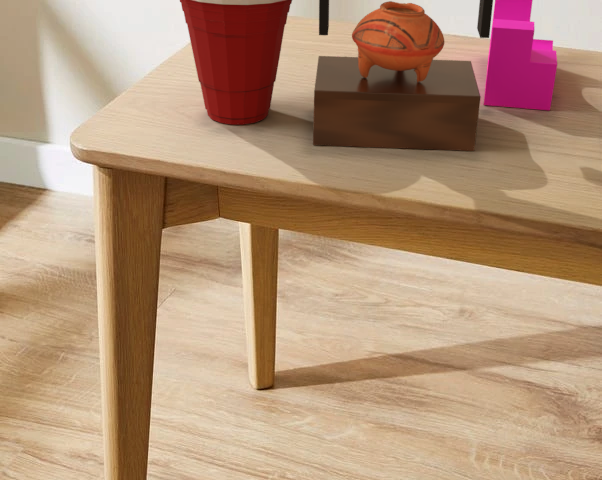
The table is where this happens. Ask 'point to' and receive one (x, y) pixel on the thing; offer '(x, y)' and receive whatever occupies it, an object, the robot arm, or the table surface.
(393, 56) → the pot
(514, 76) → the toy block
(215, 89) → the plastic cup
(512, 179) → the table surface
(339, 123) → the block
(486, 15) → the robot arm
